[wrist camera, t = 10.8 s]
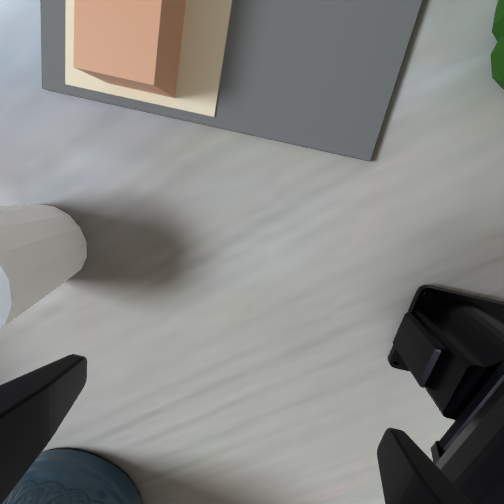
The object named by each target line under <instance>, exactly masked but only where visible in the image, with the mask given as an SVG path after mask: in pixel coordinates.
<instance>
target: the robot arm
mask: <svg viewBox="0 0 504 504" xmlns="http://www.w3.org/2000/svg"><path fill="white" fill-rule="evenodd" d="M426 291H428V294H427V295H423V294H424V292H426ZM396 359H398V360H397V361H394V360H396ZM388 362H389V364H390V365H391V366H392V367H394V368H397V369H402V370H406V371H410V372H411V373H412V374H413V376H414V378H415V379H416V381H417V382H418V384H419V385H420V386H421V387H423V388H425V389H426V390H427V392H428V393H429V395H430V396H431V398H432V399H433V401H434V402H435V404H436V405H437V407H438V408H439V410H440V411H441V413H442V414H443V416H444V417H446V418H450V419H454V420H455V422H454V423H453V425H452V426H451V427H450V428H449V430H448V431H447V432H446V433H445V435H444V436H443V437H442V438H441V440H440V441H436V442H435V443H434V444H433V446H432V447H431V452H432V457H433V462H434V463H433V462H432V461H431V460H430V458H429V457H428V456H427V455H426V454H425V453H424V452H423V451H422V450H421V449H420V448H419V447H418V446H417V445H416V444H415V443H414V442H413V441H412V439H411V438H410V437H409V436H408V435H407V434H406V433H405V432H403V431H402V430H398V429H394V428H388V429H387V430H386V431H385V433H384V435H383V437H382V440H381V442H380V444H379V446H378V449H377V458H378V464H379V469H380V475H381V481H382V487H383V493H384V498H385V504H504V303H503V302H499V301H494V300H490V299H485V298H481V297H476V296H472V295H468V294H463V293H459V292H454V291H450V290H446V289H441V288H437V287H432V286H428V285H423V286H421V287H419V288H418V290H417V292H416V294H415V296H414V298H413V301H412V303H411V305H410V308H409V310H408V312H407V313H406V314H405V315H404V317H403V320H402V322H401V324H400V327H399V329H398V331H397V334H396V336H395V338H394V341H393V347H392V349H391V351H390V354H389V356H388ZM86 379H87V359H86V357H84V356H80V355H75V354H72V355H68V356H66V357H64V358H62V359H59V360H57V361H55V362H52V363H50V364H48V365H46V366H43V367H41V368H39V369H36V370H34V371H32V372H30V373H27V374H25V375H23V376H20V377H18V378H16V379H14V380H11V381H9V382H7V383H4V384H2V385H0V504H2V503H3V502H4V501H5V499H6V498H7V497H8V496H9V494H10V493H11V492H12V490H13V489H14V488H15V486H16V485H17V484H18V482H19V481H20V480H21V478H22V477H23V476H24V474H25V473H26V472H27V470H28V469H29V468H30V467H31V465H32V464H33V463H34V461H35V460H36V459H37V457H38V456H39V455H40V453H41V452H42V451H43V449H44V448H45V447H46V445H47V444H48V442H49V441H50V440H51V438H52V437H53V435H54V434H55V432H56V431H57V429H58V427H59V426H60V424H61V423H62V421H63V419H64V418H65V416H66V415H67V413H68V411H69V410H70V408H71V407H72V405H73V403H74V402H75V400H76V399H77V397H78V395H79V394H80V392H81V391H82V389H83V387H84V385H85V383H86Z"/></svg>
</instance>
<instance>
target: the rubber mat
mask: <svg viewBox="0 0 504 504" xmlns="http://www.w3.org/2000/svg"><path fill="white" fill-rule="evenodd" d="M40 2H41V54H42V89H46V90H49V91H54V92H58V93H63V94H68V95H72V96H77V97H81V98H86V99H90V100H95V101H99V102H104V103H108V104H113V105H117V106H122V107H126V108H131V109H135V110H140V111H144V112H149V113H153V114H158V115H163V116H167V117H172V118H176V119H181V120H185V121H190V122H194V123H199V124H203V125H208V126H212V127H217V128H221V129H226V130H230V131H235V132H239V133H244V134H248V135H253V136H258V137H262V138H267V139H271V140H276V141H280V142H285V143H289V144H294V145H298V146H303V147H307V148H312V149H316V150H321V151H325V152H330V153H334V154H339V155H343V156H348V157H353V158H357V159H362V160H366V161H370V159H371V156H372V153H373V150H374V147H375V144H376V141H377V138H378V135H379V132H380V129H381V126H382V123H383V119H384V116H385V113H386V110H387V107H388V104H389V101H390V98H391V95H392V92H393V89H394V86H395V83H396V79H397V76H398V73H399V70H400V67H401V64H402V61H403V58H404V55H405V52H406V49H407V46H408V43H409V39H410V36H411V33H412V30H413V27H414V24H415V21H416V18H417V15H418V12H419V9H420V6H421V3H422V0H186V6H185V15H184V24H183V32H182V41H181V50H180V58H179V67H178V76H177V85H176V93H175V98H171V97H167V96H162V95H158V94H153V93H149V92H144V91H140V90H135V89H131V88H126V87H122V86H117V85H113V84H109V83H106V82H104V81H102V80H100V79H98V78H95V77H93V76H91V75H89V74H87V73H85V72H83V71H80V70H78V69H76V68H74V67H73V60H74V0H40Z"/></svg>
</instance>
